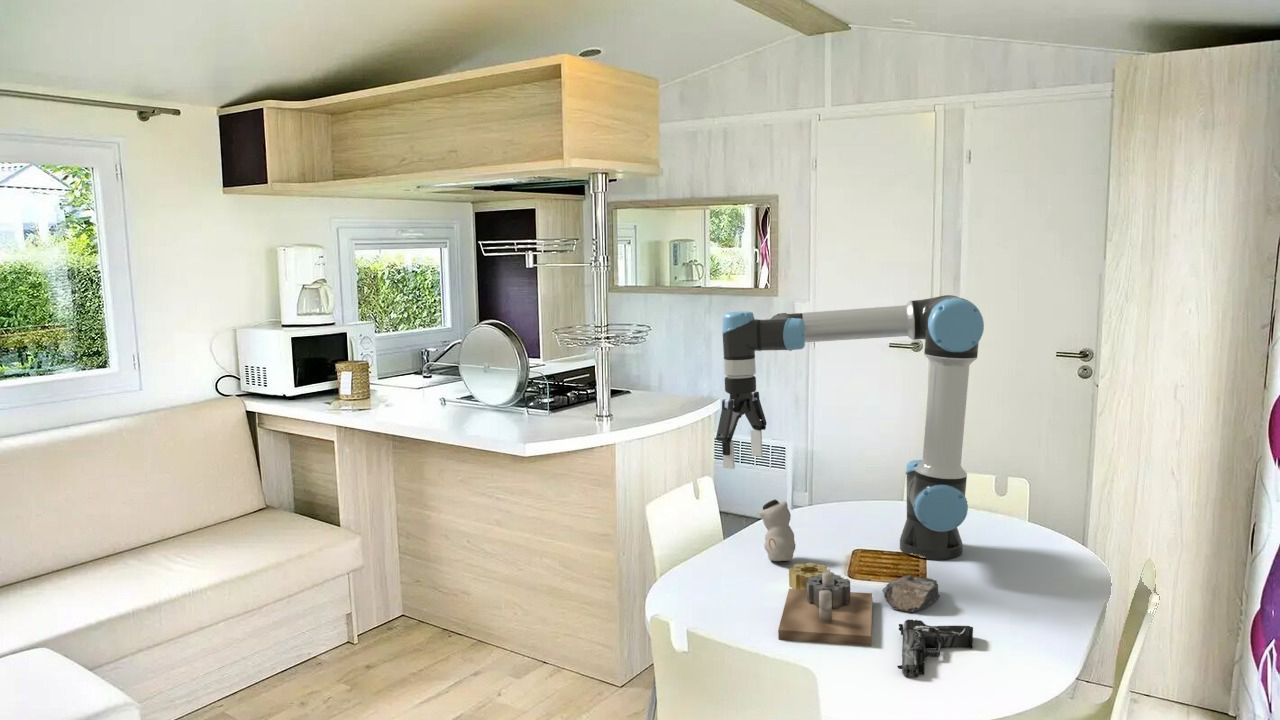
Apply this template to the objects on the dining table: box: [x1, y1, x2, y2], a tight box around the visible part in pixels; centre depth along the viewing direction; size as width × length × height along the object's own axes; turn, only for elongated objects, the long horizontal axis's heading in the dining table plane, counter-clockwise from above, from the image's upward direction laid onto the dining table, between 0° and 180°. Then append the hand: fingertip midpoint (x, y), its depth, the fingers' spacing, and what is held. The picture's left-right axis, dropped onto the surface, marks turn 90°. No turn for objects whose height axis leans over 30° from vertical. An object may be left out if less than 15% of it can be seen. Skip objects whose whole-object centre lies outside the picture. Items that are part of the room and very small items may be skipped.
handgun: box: [897, 619, 974, 678], centre depth 171 cm, size 20×3×14 cm
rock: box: [882, 575, 940, 612], centre depth 197 cm, size 14×11×5 cm
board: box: [777, 571, 873, 647], centre depth 189 cm, size 18×22×8 cm
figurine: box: [758, 499, 796, 562], centre depth 225 cm, size 9×10×15 cm
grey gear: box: [807, 574, 851, 608], centre depth 194 cm, size 9×9×4 cm
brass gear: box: [788, 562, 831, 590], centre depth 208 cm, size 9×9×4 cm
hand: (743, 461), depth 221 cm, fingers open, 13 cm apart
